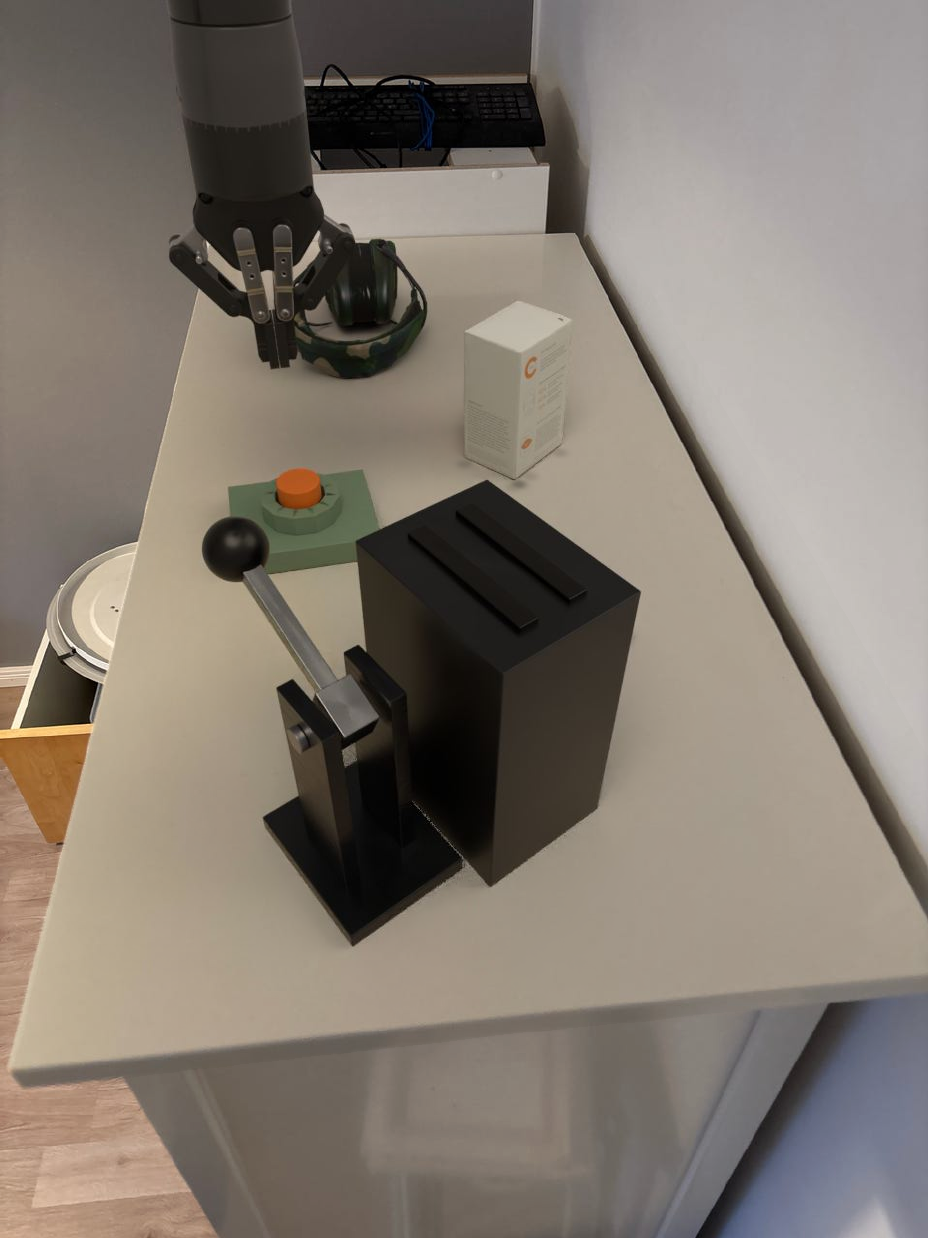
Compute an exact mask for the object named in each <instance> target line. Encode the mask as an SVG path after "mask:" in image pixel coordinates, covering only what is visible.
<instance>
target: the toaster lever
mask: <svg viewBox="0 0 928 1238" xmlns="http://www.w3.org/2000/svg"><path fill="white" fill-rule="evenodd" d="M201 555H202V558H203V561H204V564H205V565H206V567H207V569H208V570H209V571H210V572H211V573H212V575H214V576H216V577H217V578H218V579H221V580H223V581H225V582H229V583H243V584H244V586H245V588H246V589H247V591H248V592H249V594H250V595H251V597H252V599H253V600H254V601H255V603H256V604H257V606H258V607H259V610H260V611H261V612H262V613H263V615H264V617H265V618H266V619H267V621H268V623H269V624H270V626H271V627H272V628H273V630H274V631H275V634H276V635H277V637H278V638H279V639H280V641H281V642H282V644H283V645H284V647H285V649H286V650H287V652H288V653H289V655H290V657H292V659H293V660H294V662H295V664H296V665H297V668H299V670H300V672H301V673H302V674H303V676H304V677H305V679H306V680H307V682H308V683H309V685H310V687H311V688H312V689H313V692H314V695H313V698H312V701H313V702H314V703H315V705H316V706H317V707H318V708H319V709H320V710H321V711H322V713H323V714H324V715H325V716H326V717H327V718H328V719H329V721H330V722H331V723H332V724H333V725H334V726H335V727H336V729H337V730H338V731H339V732H340V739H341V746H342V751H344V750H346V749H347V748H349V747H350V746H352V745H355V742H357V741H359V740H361V739H362V738H364V737H366V736H367V735H369V734H371V733H372V732H373V730H374V728H375V726H376V724H377V722H378V720H379V718H380V716H379V714H378V713H377V712H376V710H375V709H374V707H373V706H372V704H371V703H370V701H369V700H368V698H367V697H366V695H365V694H364V692H363V691H362V689H361V688H360V686H359V685H358V683H357V682H356V680H355V679H354V677H353V676H352V674H348V675H347V676H346V675H345V676H343V677H341V678H337V676H336V675H335V673H334V672H333V670H332V669H331V667H330V666H329V664H328V663H327V662H326V660H325V658H324V657H323V655H322V653H321V652H320V651H319V649H318V648H317V646H316V645H315V643H314V642H313V640H312V639H311V638H310V636H309V634H308V633H307V632H306V630H305V628H304V627H303V625H302V624H301V622H300V620H299V619H298V618H297V616H296V615H295V613H294V612H293V611H292V609H291V607H290V606H289V604H288V603H287V601H286V600H285V598H284V596H283V595H282V594H281V592H280V591H279V589H278V587H277V586H276V585H275V583H274V581H272V579H271V577H270V576H269V574H267V573H266V571H265V570H264V568H265V566H266V564H267V562H268V559H269V555H270V545H269V541H268V538H267V536H266V534H265V532H264V531H263V529H262V528H261V527H260V526H259V525H258V524H256V523H255V522H254V521H252V520H250V519H248V518H245V517H239V516H231V517H230V516H226V517H223V518H221V519H219V520H217V521H215V522H214V523H213V524H211V525H210V527H209V528H208V529H207V531H206V532H205V534H204V537H203V539H202V543H201Z"/></svg>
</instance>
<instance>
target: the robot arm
mask: <svg viewBox="0 0 928 1238" xmlns="http://www.w3.org/2000/svg"><path fill="white" fill-rule="evenodd" d="M165 5H166V11H167V14H168V23H169V33H170V34H169V35H170V52H171V62H172V68H173V75H174V80H175V90H176V95H177V99H178V103H179V107H180V113H181V118H182V124H183V129H184V134H185V139H186V145H187V151H188V156H189V162H190V168H191V173H192V179H193V183H194V190H195V194H196V195H195V196H196V197H195V202H194V204H193V208H192V223H191V224H190V226H188V227H187V229H185V231H183V233H181V235H180V234H174V235H172V236H170V238H169V240H168V259H169V261H170V262H169V263H171V264H172V266H174V267H175V268H176V269H177V270H178V271H179V272H180V273H181V274H182V275H183V276H185V277H186V278H187V279H188V280H189V281H190V282H191V283H192V284H193V285H195V286H196V287H197V288H198V289H199V290H200V291H201V292H202V293H203V294H204V295H205V296H206V297H207V298H209V299H210V300H211V301H212V302H213V303H214V304H215V305H216V306H217V307H219V309H221V310H222V311H223V312H224V313H225V314H226V315H227V316H229V317H231V318H238V317H244V318H247V319H249V320H250V321H251V323H252V324H253V329H254V336H255V341H256V347H257V354H258V358H259V359H260V361H261V363H263V364H264V363H269V368H270V370H280V369H288V368H291V363H290V361H291V360H296V359H297V356H298V353H299V352H298V351H297V342H296V334H295V326H294V318H295V316H296V315H297V314H298V313H299V312H301V311H303V310H305V311H309V312H311V311H315V310H316V309H317V307H318V306H319V304H321V302H322V300H323V299H324V298H325V294H326V293H327V291H328V290H329V288H330V287H331V285H332V284H333V282H334V281H335V279H336V278H337V276H338V275H339V273H340V272H341V270H342V269H343V267H344V266H345V264H346V263H347V261H348V260H349V258H350V257H351V255H352V254H353V252H354V251H355V249H356V243H357V241H356V239H355V236H354V233H353V231H352V229H351V226H349V225H348V224H347V223H344V222H341V223H338V222H337V221H335V220H334V219H332V218H330V217H329V216H328V215H327V214H325V210H324V207H323V203H322V201H321V199H320V197H319V196H318V195H317V193H316V190H315V186H314V175H313V163H312V156H311V155H312V154H311V143H310V134H309V122H308V112H307V103H306V92H305V91H306V90H305V89H306V86H305V80H304V71H303V62H302V55H301V50H300V45H299V40H298V36H297V31H296V27H295V20H294V14H293V2H292V0H165ZM318 233H319V236H318V238H317V245H318V249H319V251H318V253H317V254H316V256H315V258H314V259H313V260H314V261H313V260H312V261H313V262H312V261H311V262H312V264H311V265H310V267H309V268H308V270H307V272H306V273H305V275H304V276H303V278H302V279H301V281H300V282H299V283H298V284H296V285H295V287H294V285H293V281H294V267H296V266H297V265H299V264H300V262H301V261H302V259H303V258H304V256H305V255H306V253H307V251H308V249H309V248H310V245H311V244H312V243H313V241H314V240H315V237H316V235H317V234H318ZM204 240H205V241H206V242H207V243H208V245H210V246H211V248H212V249H213V250H215V252H216V253H218V255H219V256H220V257H221V258H222V259H223V260H224V261H225V262H226V263H227V264H228V265H229V266H230V267H231V268H232V269H234V270H236V271H239V272H241V275H242V280H243V283H244V287H245V291H243V290H240V289H239V288H238V287H237V286H236V285H235V284H234V283H233V282H232V281H230V279H229V278H227V277H226V276H225V274H223V273H222V272H221V271H220V270H219V269H218V268H217V267H216V266H215V265H214V264H213V263H211V261H210V260H209V252H208V248H207V246H206V245H205V243H204ZM266 271H269V272H271V275H272V291H273V294H272V295H273V309H270V308H269V303H268V298H267V293H266V289H265V288H266V287H265V285H264V280H263V276H262V273H263V272H266Z"/></svg>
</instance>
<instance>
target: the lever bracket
mask: <svg viewBox="0 0 928 1238" xmlns="http://www.w3.org/2000/svg"><path fill="white" fill-rule="evenodd" d="M343 661H344V669H345V676H347V675H348V674H352V676H353V677H354V679H355V680H356V682H357V683H358V685H359V686H360V688H361V689H362V691H363V692H364V694H365V695H366V697H367V698H368V700H369V701H370V703H371V704H372V706H373V707H374V709H375V710H376V712H377V713H378V714H379V716H380V718H379V720H378V722H377V724H376V726H375V728H374V730H373V732H372V733H371V734H369V735H367V736H366V737H364V738H362V739H361V740H359V741H357V742H355V743H354V749H355V750H354V751H355V757H356V760H355V761H354V762H351V763H349V764H348V765H346V766H345V762H344V761H345V760H344V753H343V750H342V746H341V739H340V732H339V731H338V730H337V729H336V727H335V726H334V725H333V724H332V723H331V722H330V721H329V719H328V718H327V717H326V716H325V715H324V714H323V713H322V711H321V710H320V709H319V708H318V707H317V706H316V705H315V703H314V702H313V699H311V698H310V696H309V695H308V694H307V693H306V692H305V691H304V689H302V687H301V686H300V685H299V684H298V683H297V681H295V679H294V678H291V679H289V680H287V681H285V682H283V683H282V684H280V685H278V686H276V687H275V689H276V694H277V699H278V703H279V709H280V713H281V718H282V722H283V728H284V733H285V737H286V742H287V747H288V751H289V756H290V760H291V766H292V771H293V775H294V780H295V784H296V785H295V786H296V789H297V794H298V795H297V796H295V797H293V798H292V799H290V800H289V801H287V802H285V803H283V804H282V805H280V806H279V807H277V808H275V809H273V810H271V811H270V812H268V813H267V814H265V815H263V817H262V820H263V824H264V828H265V829H266V830H267V832H268V833H269V834H270V836H271V838H272V839H273V840H274V842H275V843H276V845H278V847H279V848H280V850H281V851H282V852H283V854H284V855H285V856H286V858H287V860H288V861H289V862H290V864H291V866H293V868H294V869H295V870H296V872H297V874H299V875H300V877H301V878H302V880H303V881H304V882H305V884H306V885H307V887H308V888H309V889H310V891H311V893H313V895H314V896H315V898H316V899H317V901H318V902H319V903H320V905H321V906H322V907H323V908H324V910H325V911H326V913H327V914H328V916H329V917H330V918H331V919H332V921H333V922H334V924H335V925H336V927H337V928H338V929H339V930H340V932H341V934H342V935H343V936H344V937H345V939H346V940H347V942H348V943H349V944H350V946H352V947H354V946H356V945H357V944H359V943H360V942H361V941H362V940H364V939H366V938H367V937H368V936H370V935H371V934H373V933H374V932H375V931H377V930H378V929H380V928H381V927H382V926H384V925H385V924H387V923H388V922H390V921H391V920H392V919H393V918H395V917H397V916H398V915H399V914H401V913H402V912H403V911H405V910H406V909H408V908H409V907H411V906H412V905H414V904H415V903H416V902H418V901H420V899H422V898H423V897H424V896H426V895H427V894H429V893H430V892H432V891H433V890H434V889H436V888H438V886H440V885H442V884H443V883H444V882H446V881H447V880H449V879H450V878H451V877H453V876H454V875H456V874H457V873H458V872H460V871H461V870H462V869H463V856H462V855H461V854H460V853H459V852H457V850H456V849H455V847H454V846H453V845H452V844H451V843H450V842H449V841H448V840H447V838H446V837H445V836H444V835H443V834H442V833H441V832H439V829H438V828H437V827H436V826H435V825H434V824H433V823H432V822H431V820H430V819H429V818H428V817H427V816H426V815H425V814H424V813H423V811H422V810H421V809H420V808H419V807H417V805H416V804H415V802H414V801H413V800H412V782H411V764H410V745H409V727H408V708H407V693H406V692H405V691H404V690H403V689H402V688H401V687H400V686H399V685H398V684H397V683H396V682H395V681H394V680H393V679H392V678H391V677H390V676H389V675H388V674H387V673H386V672H385V671H384V670H383V669H382V668H381V667H380V666H379V665H378V664H377V663H376V662H375V661H374V660H373V659H372V657H371V656H370V655H369V654H368V653H367V652H366V649H364V648H363V647H362V646H361V645H360V644H356V645H353V646H352V647H350V648H348V649H346V650H345V651H343Z"/></svg>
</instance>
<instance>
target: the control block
mask: <svg viewBox="0 0 928 1238" xmlns="http://www.w3.org/2000/svg"><path fill="white" fill-rule="evenodd" d="M316 473H317V474H318V476H319V478H320V485H321V493H322V498H321V500H320V502H319V503H318V504H316V505H314V506H312V507H310V508H304V509H297V510H295V509H290V508H285V507H284V506H282V505H281V504H280V502H279V499H278V493H277V487H276V480H277V478H278V477H276V478H273V479H272V480H269V481H261V482H253V483H247V484H240V485H231V486H228V487H227V492H228V503H229V504H228V505H229V517H231V516H239V517H245V518H248V519H250V520H252V521H254V522H255V523H256V524H258V525H259V526H260V527H261V528H262V529H263V531H264V532H265V534H266V536H267V538H268V541H269V545H270V555H269V559H268V562H267V564H266V566H265V568H264V570H265V571H266V573H267V574H268V575H272V574H277V573H285V572H286V573H287V572H292V571H298V570H306V569H312V568H319V567H326V566H333V565H339V564H347V563H352V562H357V552H356V542H355V541H356V540H358V539H360V538H362V537H364V536H367V535H369V534H371V533H373V532H375V531H377V530H380V529H381V528H380V526H379V523H378V519H377V515H376V511H375V508H374V504H373V500H372V497H371V492H370V490H369V486H368V482H367V479H366V475H365V471H364V469H356V470H348V471H339V472H332V473H326V474H325V473H320V472H319V473H318V472H316Z"/></svg>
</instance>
